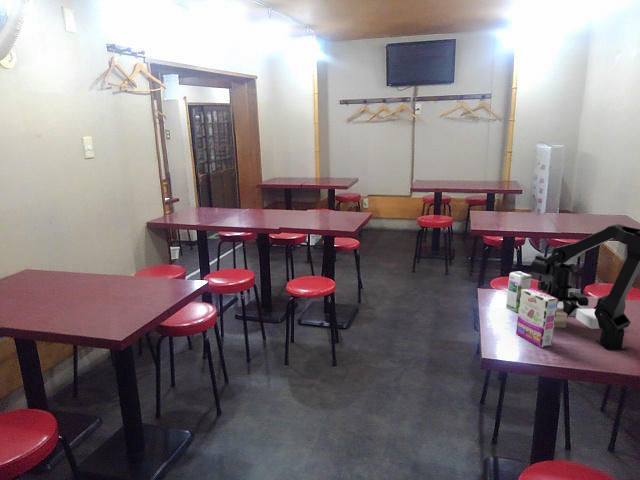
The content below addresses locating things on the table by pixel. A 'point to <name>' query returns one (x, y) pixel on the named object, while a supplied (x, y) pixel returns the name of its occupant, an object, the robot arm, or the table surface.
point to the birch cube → (560, 318)
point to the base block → (587, 318)
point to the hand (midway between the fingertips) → (555, 321)
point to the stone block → (560, 306)
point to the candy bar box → (536, 317)
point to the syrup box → (516, 289)
